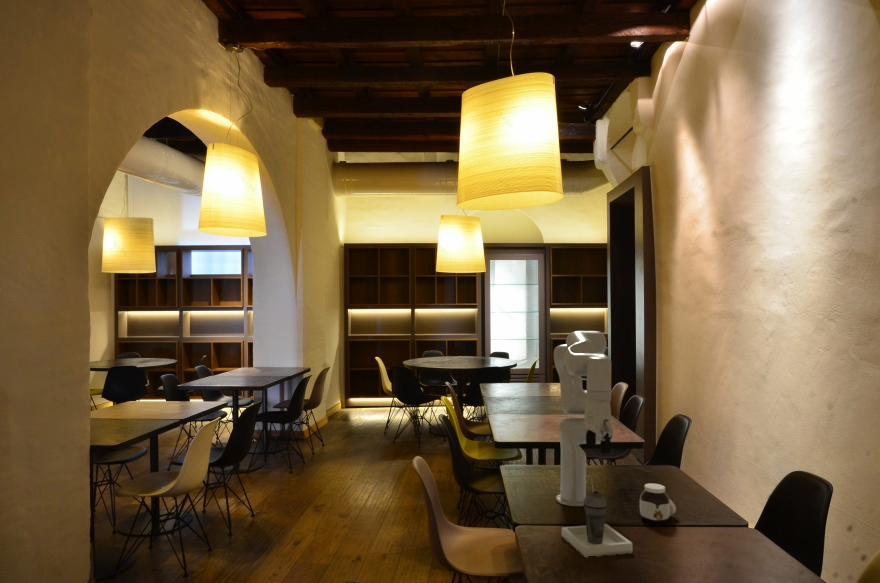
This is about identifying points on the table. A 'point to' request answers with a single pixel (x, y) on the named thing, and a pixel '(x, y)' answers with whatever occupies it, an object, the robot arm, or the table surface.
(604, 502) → the beverage cup
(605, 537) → the walled tray
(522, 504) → the table surface
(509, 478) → the table surface
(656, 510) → the spread jar
